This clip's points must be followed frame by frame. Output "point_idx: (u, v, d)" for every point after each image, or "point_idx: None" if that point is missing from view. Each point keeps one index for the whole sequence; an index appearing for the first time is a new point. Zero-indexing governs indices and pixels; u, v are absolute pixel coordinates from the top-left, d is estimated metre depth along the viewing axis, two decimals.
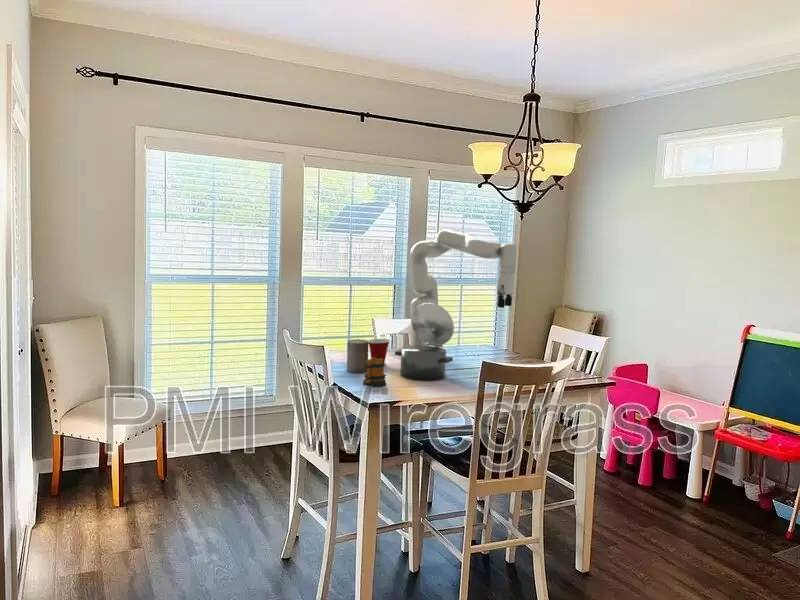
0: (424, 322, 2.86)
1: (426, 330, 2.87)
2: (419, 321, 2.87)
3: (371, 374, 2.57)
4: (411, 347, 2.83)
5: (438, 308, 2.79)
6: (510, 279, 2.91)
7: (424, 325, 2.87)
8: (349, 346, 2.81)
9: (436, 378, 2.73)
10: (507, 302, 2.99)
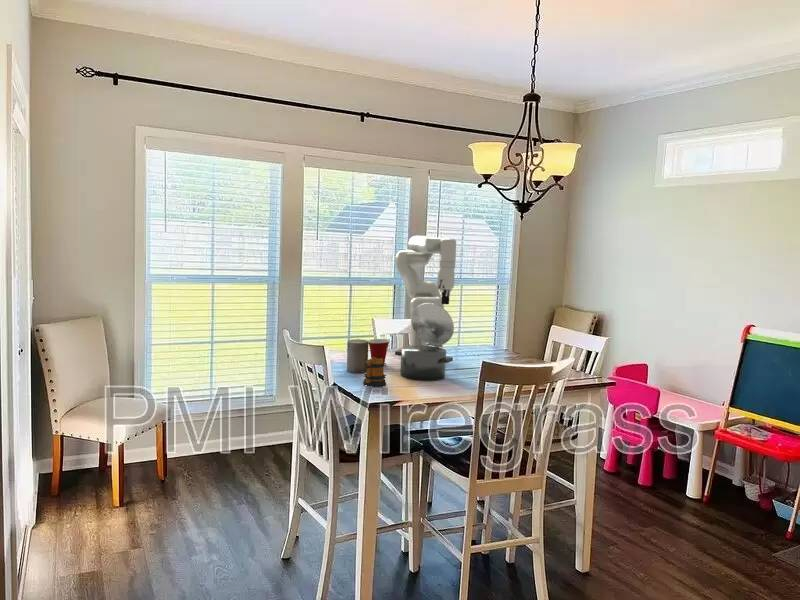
0: (424, 322, 2.86)
1: (426, 330, 2.87)
2: (419, 321, 2.87)
3: (371, 374, 2.57)
4: (411, 347, 2.83)
5: (438, 308, 2.79)
6: (450, 274, 2.90)
7: (424, 325, 2.87)
8: (349, 346, 2.81)
9: (436, 378, 2.73)
10: None
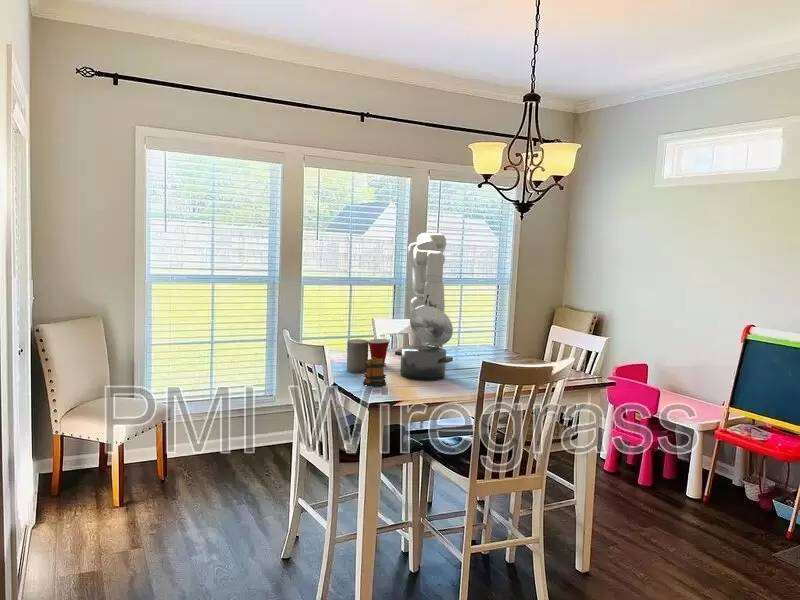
0: (423, 324, 2.85)
1: (425, 331, 2.87)
2: (418, 323, 2.86)
3: (371, 374, 2.57)
4: (411, 347, 2.83)
5: (436, 311, 2.77)
6: (437, 289, 2.80)
7: (423, 326, 2.86)
8: (349, 346, 2.81)
9: (436, 378, 2.73)
10: None
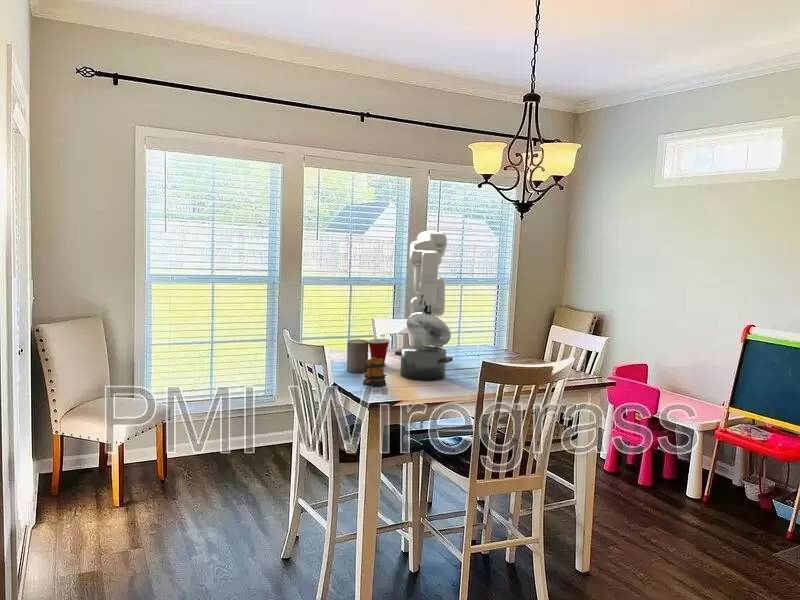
0: (420, 328, 2.83)
1: (424, 334, 2.85)
2: (415, 327, 2.84)
3: (371, 374, 2.57)
4: (411, 347, 2.83)
5: (431, 318, 2.74)
6: (432, 289, 2.76)
7: (421, 330, 2.84)
8: (349, 346, 2.81)
9: (436, 378, 2.73)
10: None
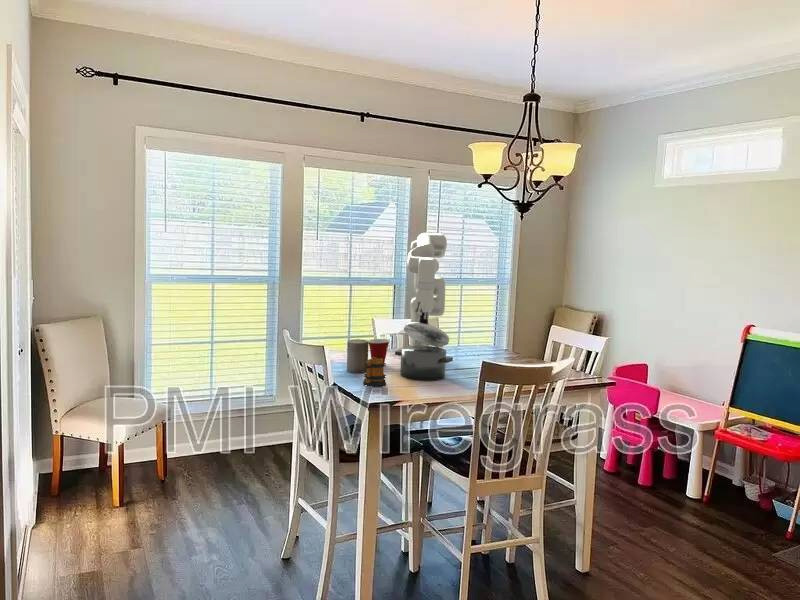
0: (418, 333, 2.82)
1: (422, 338, 2.85)
2: (413, 333, 2.83)
3: (371, 374, 2.57)
4: (411, 347, 2.83)
5: (428, 327, 2.72)
6: (428, 296, 2.74)
7: (419, 335, 2.83)
8: (349, 346, 2.81)
9: (436, 378, 2.73)
10: None
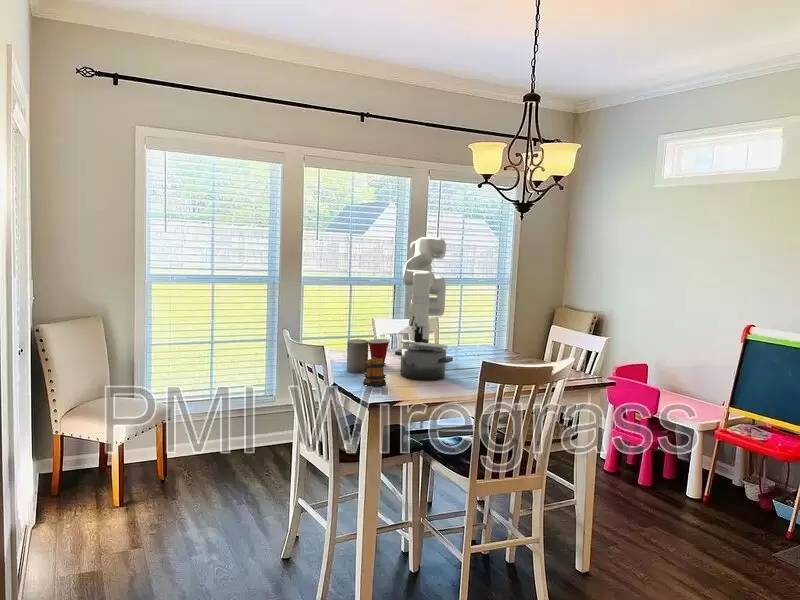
0: None
1: None
2: None
3: (371, 374, 2.57)
4: (411, 347, 2.83)
5: None
6: (423, 310, 2.70)
7: None
8: (349, 346, 2.81)
9: (436, 378, 2.73)
10: None
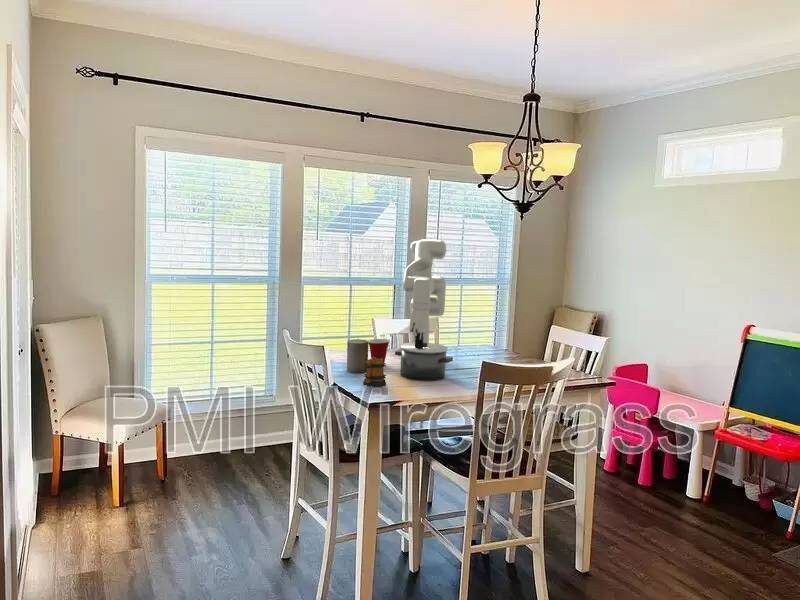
0: None
1: None
2: None
3: (371, 374, 2.57)
4: None
5: None
6: (423, 316, 2.71)
7: None
8: (349, 346, 2.81)
9: (436, 378, 2.73)
10: None
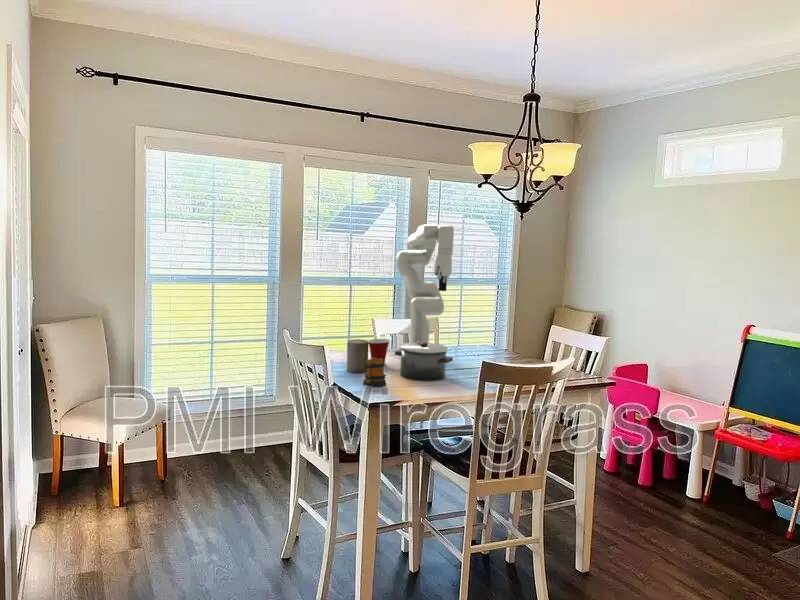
0: None
1: None
2: None
3: (371, 374, 2.57)
4: None
5: None
6: (447, 260, 2.92)
7: None
8: (349, 346, 2.81)
9: (436, 378, 2.73)
10: None
